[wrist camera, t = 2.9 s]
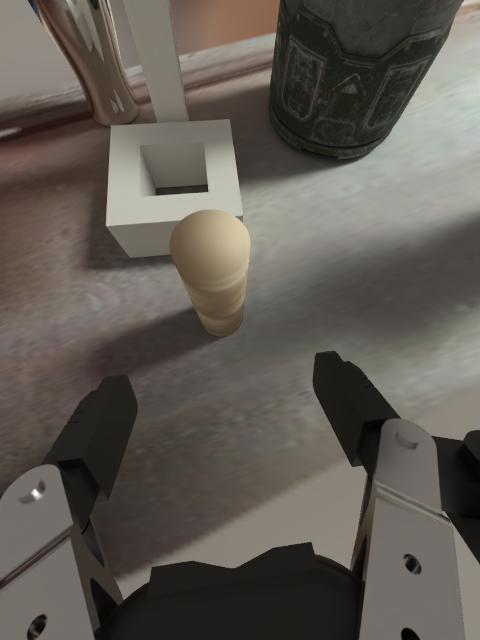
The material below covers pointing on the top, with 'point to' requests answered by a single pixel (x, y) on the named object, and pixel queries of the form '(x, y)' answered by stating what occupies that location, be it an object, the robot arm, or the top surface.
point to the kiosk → (165, 148)
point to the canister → (351, 68)
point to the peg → (213, 267)
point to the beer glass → (91, 55)
